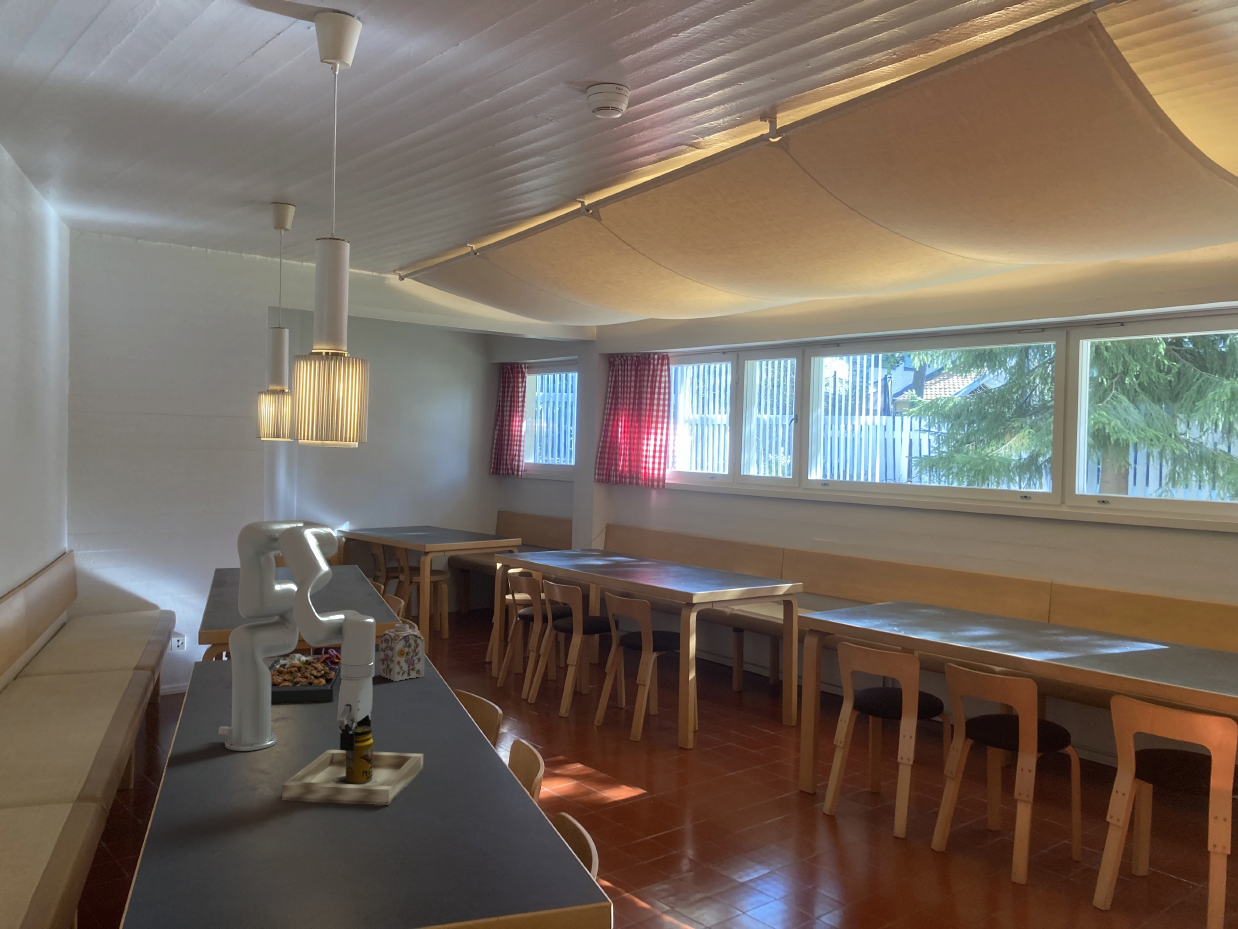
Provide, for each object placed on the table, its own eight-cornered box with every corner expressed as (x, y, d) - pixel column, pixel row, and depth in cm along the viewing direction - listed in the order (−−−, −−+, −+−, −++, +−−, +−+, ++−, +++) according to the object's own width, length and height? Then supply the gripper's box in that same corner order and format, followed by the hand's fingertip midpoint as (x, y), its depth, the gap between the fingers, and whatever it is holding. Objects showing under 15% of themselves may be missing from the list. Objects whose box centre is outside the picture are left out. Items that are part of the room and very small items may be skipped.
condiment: (378, 782, 204) (378, 730, 204) (341, 789, 199) (341, 736, 199) (368, 773, 210) (369, 722, 210) (332, 779, 205) (332, 727, 205)
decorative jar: (377, 676, 308) (378, 624, 308) (407, 671, 316) (408, 620, 316) (394, 682, 300) (395, 629, 300) (425, 677, 308) (425, 625, 308)
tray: (282, 800, 194) (282, 784, 194) (327, 763, 218) (328, 749, 218) (388, 805, 192) (388, 789, 192) (423, 768, 216) (423, 754, 216)
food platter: (274, 672, 314) (274, 643, 314) (346, 670, 319) (347, 641, 319) (248, 707, 270) (249, 673, 270) (333, 703, 275) (333, 670, 275)
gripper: (356, 660, 214) (354, 730, 214) (326, 678, 197) (324, 755, 197) (386, 662, 214) (384, 732, 214) (359, 680, 196) (356, 757, 197)
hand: (355, 743), depth 206 cm, fingers open, 9 cm apart
